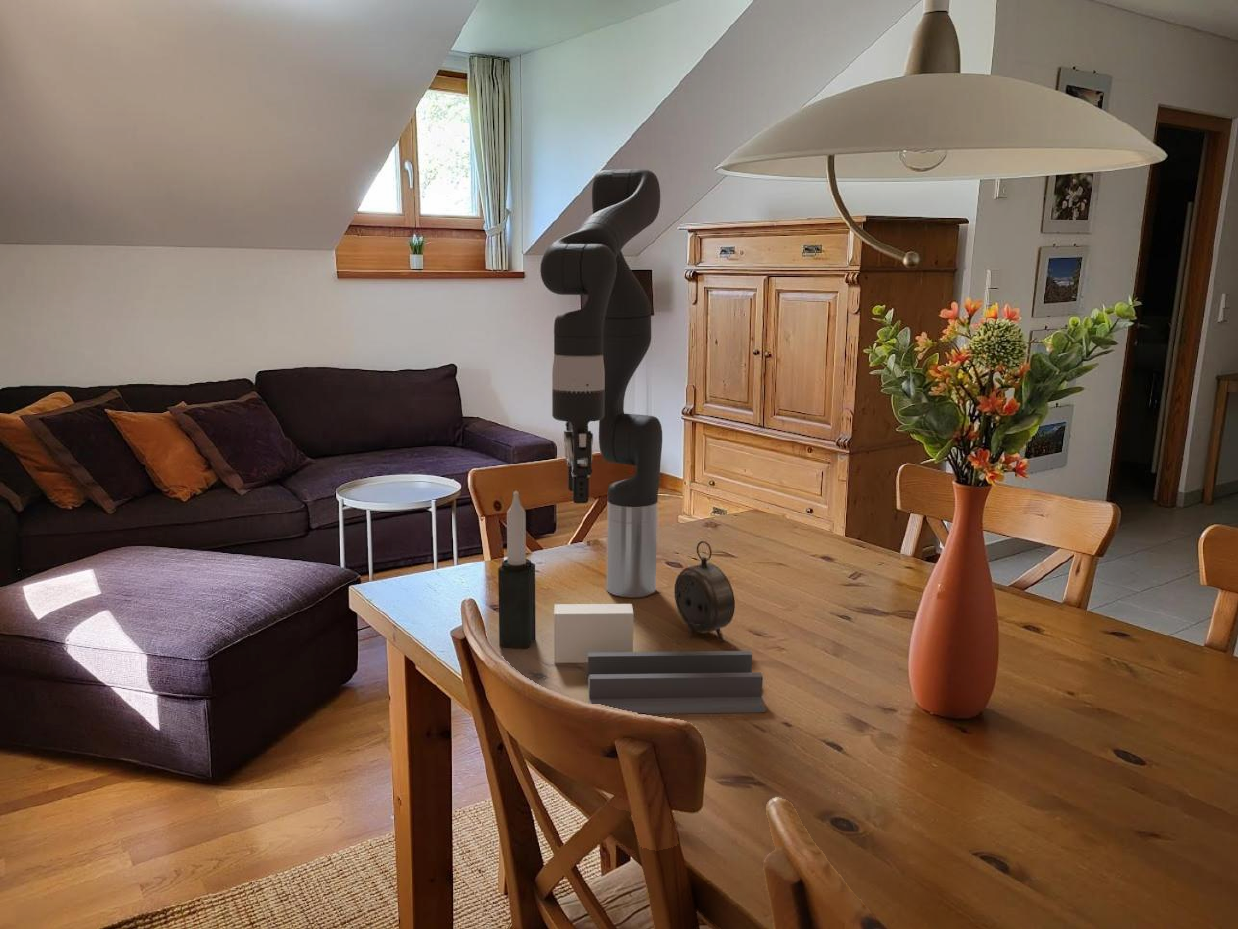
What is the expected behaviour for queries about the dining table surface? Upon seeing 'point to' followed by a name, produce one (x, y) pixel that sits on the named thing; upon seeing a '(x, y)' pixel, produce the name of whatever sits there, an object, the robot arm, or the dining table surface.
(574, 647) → the white rectangular block
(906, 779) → the dining table surface
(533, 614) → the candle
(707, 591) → the alarm clock
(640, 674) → the door track
